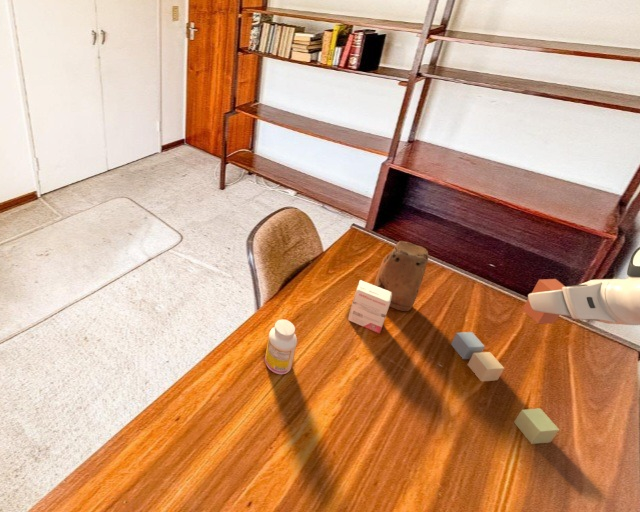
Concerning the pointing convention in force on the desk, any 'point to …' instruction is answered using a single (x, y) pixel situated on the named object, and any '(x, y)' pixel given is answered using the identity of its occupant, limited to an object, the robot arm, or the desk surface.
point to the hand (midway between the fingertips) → (546, 299)
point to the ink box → (370, 306)
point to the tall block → (541, 316)
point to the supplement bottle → (281, 347)
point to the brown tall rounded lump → (402, 274)
